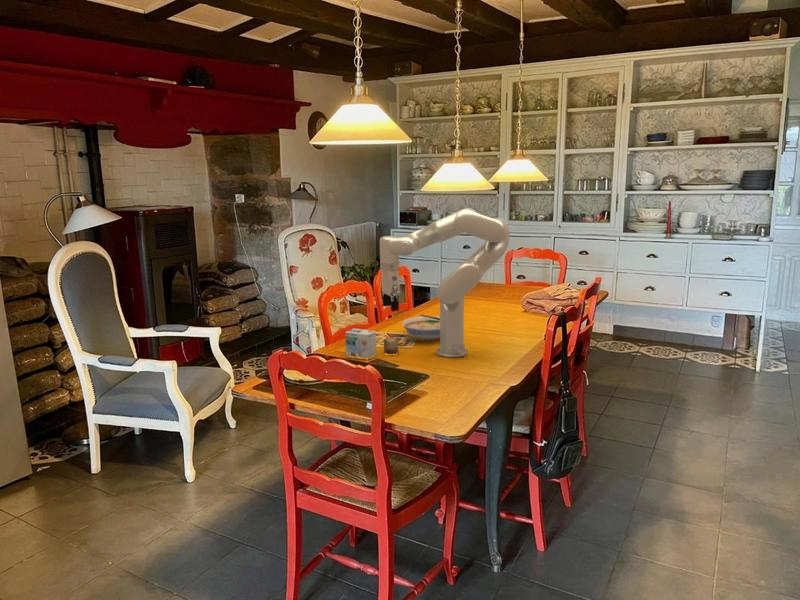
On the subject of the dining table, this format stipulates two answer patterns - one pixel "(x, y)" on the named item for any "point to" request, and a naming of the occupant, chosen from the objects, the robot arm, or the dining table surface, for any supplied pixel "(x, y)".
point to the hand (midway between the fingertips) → (390, 308)
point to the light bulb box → (360, 343)
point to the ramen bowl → (423, 327)
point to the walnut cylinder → (391, 345)
